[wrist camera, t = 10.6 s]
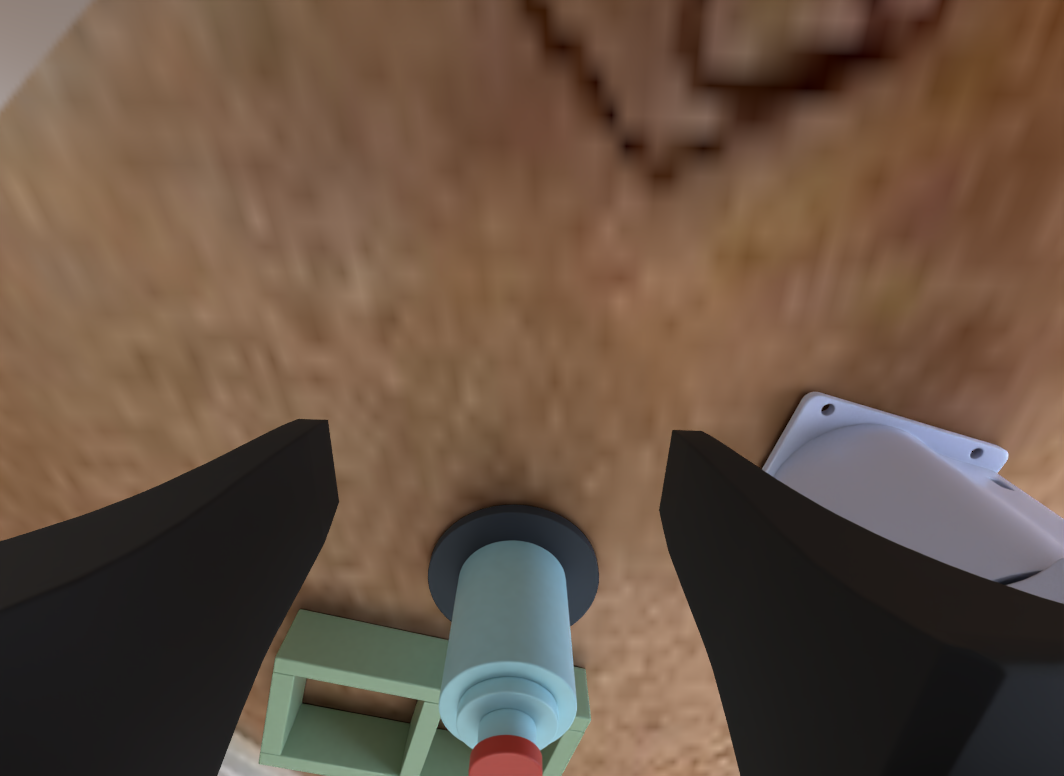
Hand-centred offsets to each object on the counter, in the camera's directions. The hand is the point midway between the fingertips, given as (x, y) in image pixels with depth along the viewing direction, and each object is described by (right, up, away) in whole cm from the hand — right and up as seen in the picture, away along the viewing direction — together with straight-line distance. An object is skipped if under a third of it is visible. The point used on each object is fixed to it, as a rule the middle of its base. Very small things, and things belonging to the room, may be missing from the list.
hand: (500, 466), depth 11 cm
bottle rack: (-5, -15, +17) cm, 23 cm away
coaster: (0, -7, +14) cm, 16 cm away
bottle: (0, -7, +14) cm, 15 cm away
